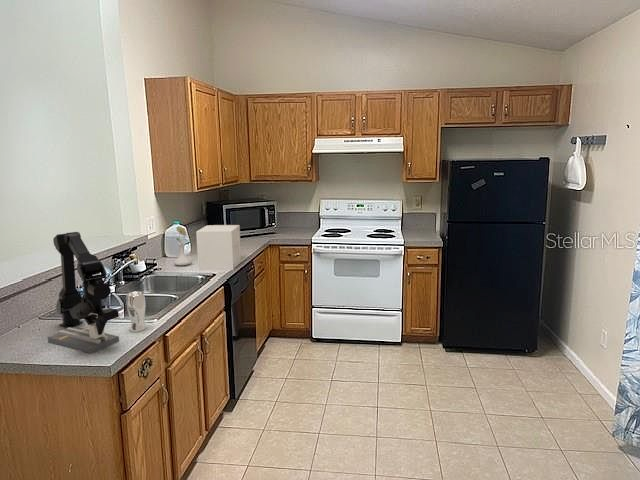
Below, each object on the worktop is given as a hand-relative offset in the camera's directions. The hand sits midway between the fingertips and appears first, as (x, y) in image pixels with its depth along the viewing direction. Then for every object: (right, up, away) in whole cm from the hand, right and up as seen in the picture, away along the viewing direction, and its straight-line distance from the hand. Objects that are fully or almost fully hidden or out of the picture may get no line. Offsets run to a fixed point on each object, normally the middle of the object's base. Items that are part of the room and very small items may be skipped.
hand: (97, 333), depth 169 cm
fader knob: (0, -2, 0) cm, 2 cm away
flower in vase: (-6, +19, +125) cm, 127 cm away
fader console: (-7, -4, +4) cm, 9 cm away
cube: (+19, +18, +122) cm, 125 cm away
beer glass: (+9, -2, +16) cm, 19 cm away
